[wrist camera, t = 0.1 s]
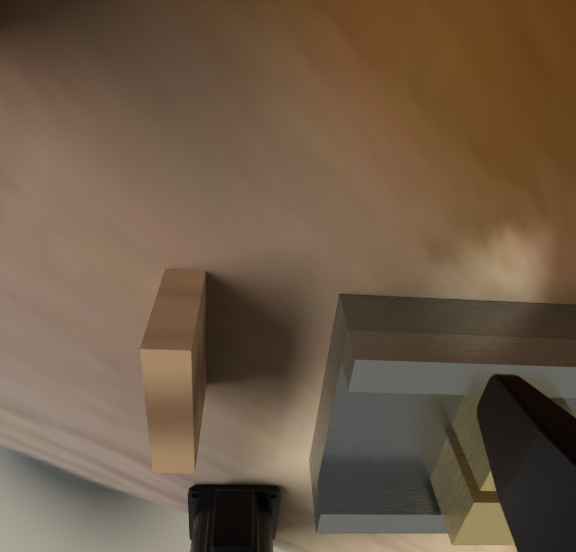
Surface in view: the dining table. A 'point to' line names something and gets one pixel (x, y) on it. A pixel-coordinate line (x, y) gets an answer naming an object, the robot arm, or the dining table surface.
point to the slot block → (418, 397)
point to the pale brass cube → (467, 501)
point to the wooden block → (175, 370)
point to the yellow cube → (479, 439)
